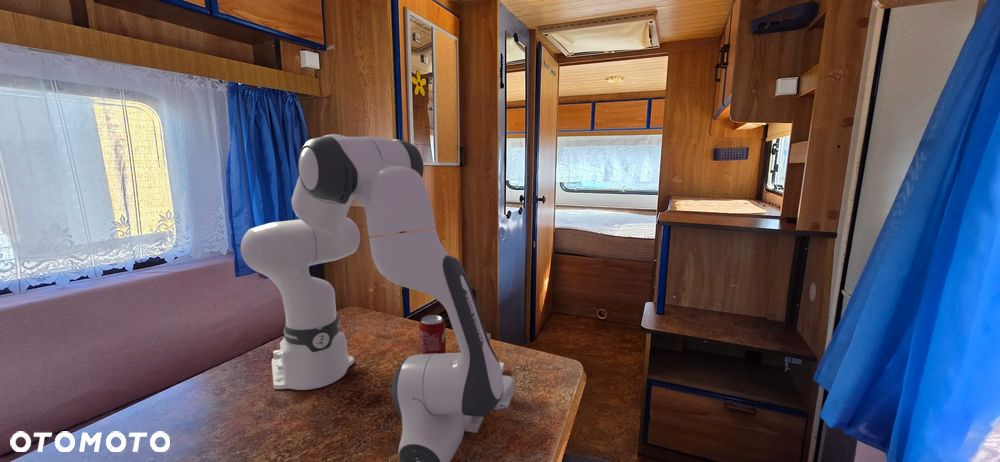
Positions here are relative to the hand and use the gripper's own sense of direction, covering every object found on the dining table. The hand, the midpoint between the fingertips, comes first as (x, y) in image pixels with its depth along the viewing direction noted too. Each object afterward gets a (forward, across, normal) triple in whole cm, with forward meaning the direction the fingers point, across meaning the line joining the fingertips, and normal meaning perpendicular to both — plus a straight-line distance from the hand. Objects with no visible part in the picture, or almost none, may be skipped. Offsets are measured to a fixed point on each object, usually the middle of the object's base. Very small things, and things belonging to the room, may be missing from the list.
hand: (475, 366), depth 89 cm
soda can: (+11, +15, +7) cm, 20 cm away
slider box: (0, 0, +7) cm, 7 cm away
